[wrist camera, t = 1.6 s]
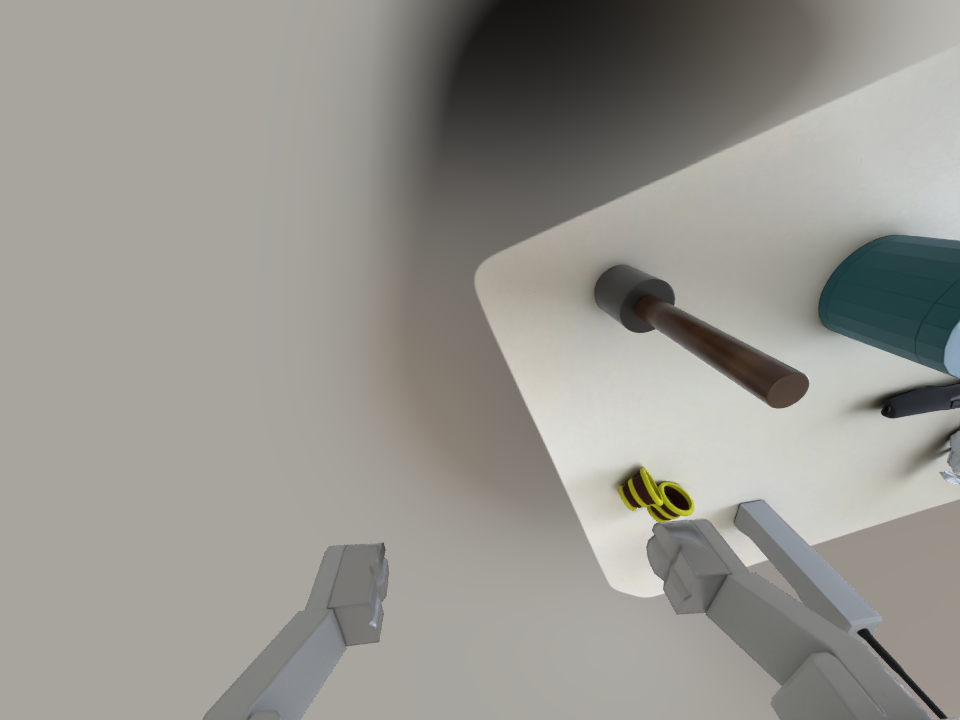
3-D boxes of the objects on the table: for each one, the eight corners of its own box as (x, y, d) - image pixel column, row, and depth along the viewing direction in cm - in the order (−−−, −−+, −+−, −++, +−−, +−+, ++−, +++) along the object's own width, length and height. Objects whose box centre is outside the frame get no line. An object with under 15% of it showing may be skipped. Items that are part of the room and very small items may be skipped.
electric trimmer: (874, 390, 45) (902, 404, 42) (991, 369, 45) (1028, 381, 42) (864, 413, 47) (890, 428, 44) (977, 393, 46) (1010, 406, 44)
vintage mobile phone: (732, 523, 55) (924, 748, 33) (739, 502, 53) (948, 729, 31) (755, 519, 55) (961, 742, 33) (762, 498, 53) (989, 722, 31)
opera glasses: (610, 479, 49) (621, 512, 45) (639, 460, 47) (652, 493, 43) (656, 500, 52) (669, 532, 48) (685, 484, 50) (702, 517, 46)
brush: (591, 272, 34) (745, 363, 17) (640, 258, 34) (848, 335, 16) (596, 317, 37) (736, 439, 19) (642, 304, 36) (826, 416, 19)
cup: (829, 251, 35) (975, 276, 26) (937, 221, 35) (1127, 234, 25) (810, 343, 40) (925, 392, 31) (903, 318, 40) (1051, 360, 30)
